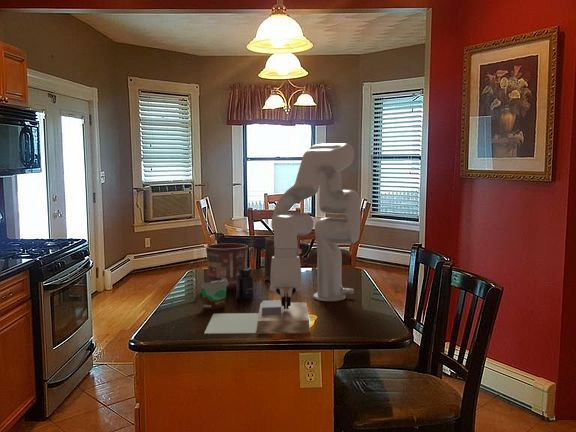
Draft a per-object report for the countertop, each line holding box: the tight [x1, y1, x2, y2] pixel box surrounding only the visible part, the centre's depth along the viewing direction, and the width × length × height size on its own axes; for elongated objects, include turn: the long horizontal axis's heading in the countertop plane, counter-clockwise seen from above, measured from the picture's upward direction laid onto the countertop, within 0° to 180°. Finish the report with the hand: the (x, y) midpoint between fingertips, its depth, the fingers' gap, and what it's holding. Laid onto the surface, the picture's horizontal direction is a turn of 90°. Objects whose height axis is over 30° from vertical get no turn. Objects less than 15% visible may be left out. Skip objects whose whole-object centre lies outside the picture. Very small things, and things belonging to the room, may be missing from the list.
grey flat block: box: [262, 299, 282, 315], centre depth 174 cm, size 6×9×2 cm, turn 1°
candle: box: [263, 235, 274, 282], centre depth 239 cm, size 8×7×20 cm
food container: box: [200, 277, 228, 310], centre depth 195 cm, size 12×6×10 cm, turn 148°
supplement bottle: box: [235, 267, 255, 302], centre depth 207 cm, size 7×7×12 cm
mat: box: [203, 312, 259, 335], centre depth 175 cm, size 16×22×1 cm
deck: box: [257, 301, 310, 335], centre depth 174 cm, size 16×22×4 cm
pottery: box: [205, 242, 249, 291], centre depth 227 cm, size 18×18×18 cm
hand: (286, 308), depth 174 cm, fingers closed
